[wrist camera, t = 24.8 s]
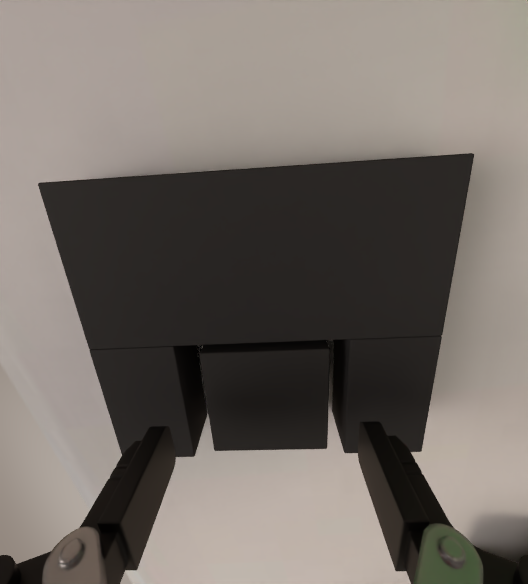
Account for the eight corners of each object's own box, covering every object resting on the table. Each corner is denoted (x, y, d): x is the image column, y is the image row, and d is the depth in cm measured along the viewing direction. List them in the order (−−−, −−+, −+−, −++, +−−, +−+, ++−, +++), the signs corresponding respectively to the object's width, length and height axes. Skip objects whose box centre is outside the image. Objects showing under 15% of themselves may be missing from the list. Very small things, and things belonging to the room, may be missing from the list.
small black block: (223, 409, 17) (214, 451, 14) (212, 325, 15) (198, 353, 12) (317, 407, 17) (327, 449, 14) (318, 320, 15) (330, 349, 12)
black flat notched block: (147, 416, 17) (122, 458, 14) (88, 186, 13) (36, 182, 10) (396, 409, 17) (421, 452, 14) (427, 164, 12) (475, 152, 9)
